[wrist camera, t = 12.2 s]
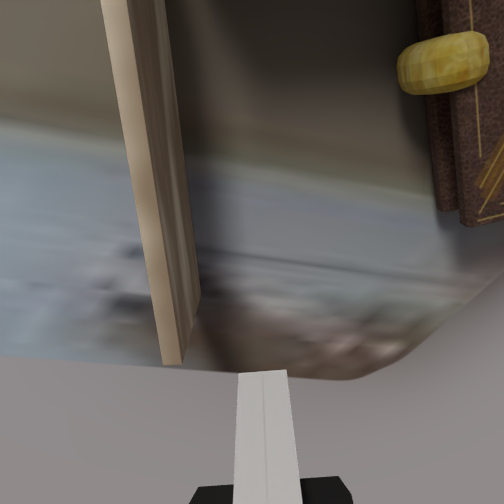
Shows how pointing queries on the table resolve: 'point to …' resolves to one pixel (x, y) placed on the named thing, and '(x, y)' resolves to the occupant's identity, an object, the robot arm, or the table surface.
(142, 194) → the shelf corner
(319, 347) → the table surface
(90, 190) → the table surface
